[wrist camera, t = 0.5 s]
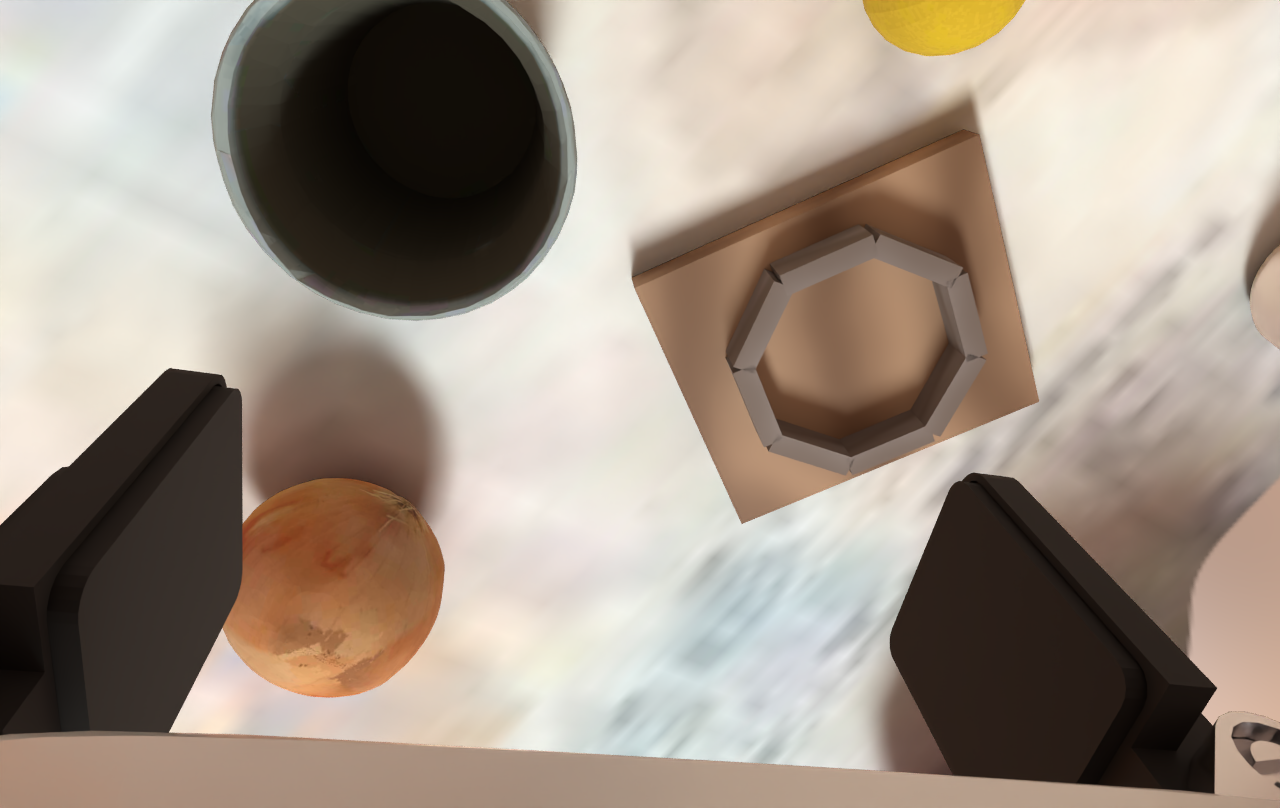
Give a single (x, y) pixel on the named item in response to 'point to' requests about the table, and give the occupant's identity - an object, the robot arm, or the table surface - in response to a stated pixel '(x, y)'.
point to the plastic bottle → (1267, 298)
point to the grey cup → (395, 149)
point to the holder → (846, 328)
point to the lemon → (940, 23)
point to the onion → (335, 587)
